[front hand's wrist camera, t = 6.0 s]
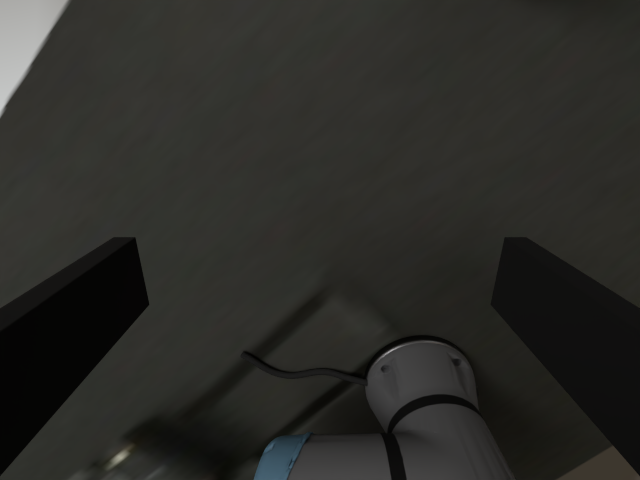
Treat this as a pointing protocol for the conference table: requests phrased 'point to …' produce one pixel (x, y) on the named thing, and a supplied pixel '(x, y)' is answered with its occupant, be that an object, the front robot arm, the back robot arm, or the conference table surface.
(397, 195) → the conference table surface
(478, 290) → the conference table surface
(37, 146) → the conference table surface
